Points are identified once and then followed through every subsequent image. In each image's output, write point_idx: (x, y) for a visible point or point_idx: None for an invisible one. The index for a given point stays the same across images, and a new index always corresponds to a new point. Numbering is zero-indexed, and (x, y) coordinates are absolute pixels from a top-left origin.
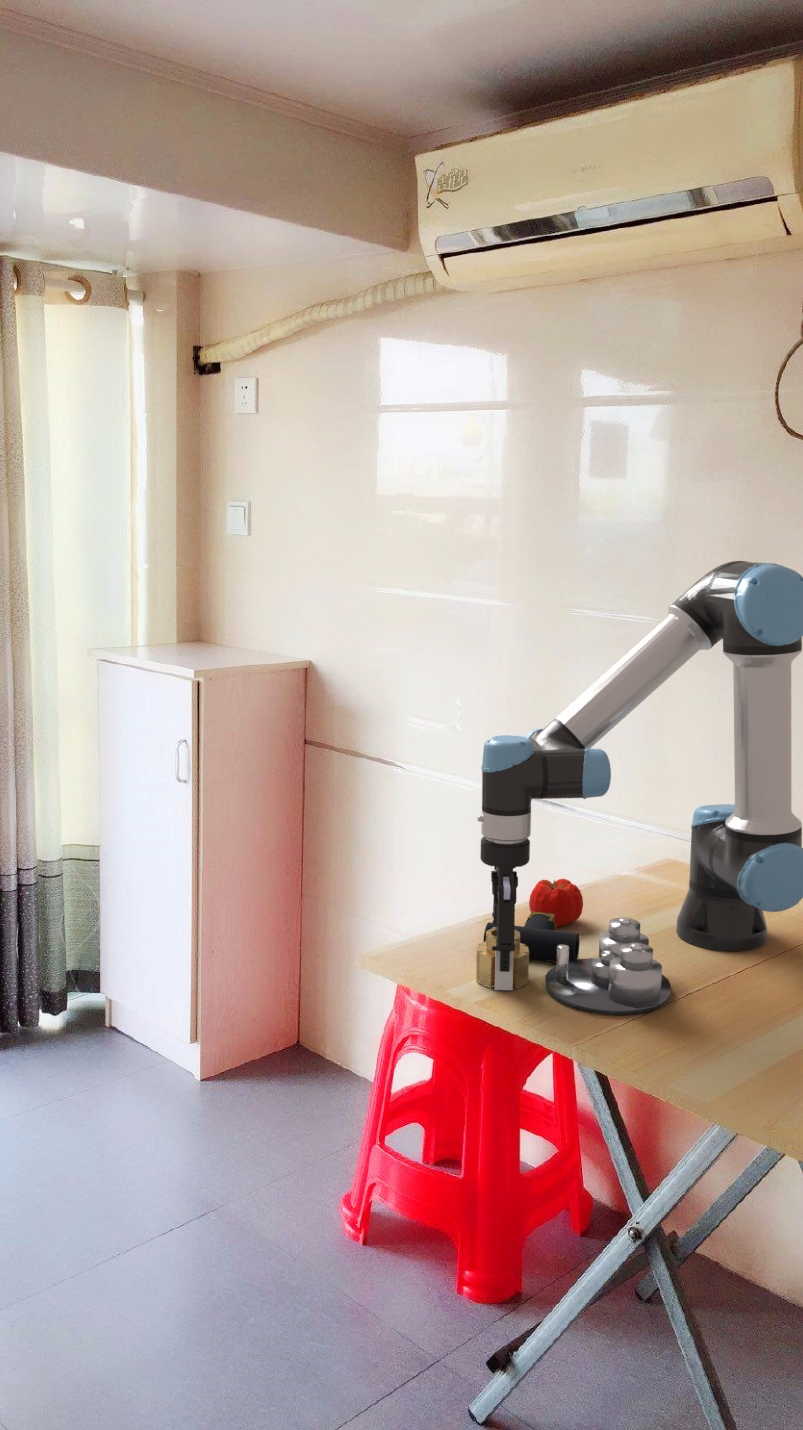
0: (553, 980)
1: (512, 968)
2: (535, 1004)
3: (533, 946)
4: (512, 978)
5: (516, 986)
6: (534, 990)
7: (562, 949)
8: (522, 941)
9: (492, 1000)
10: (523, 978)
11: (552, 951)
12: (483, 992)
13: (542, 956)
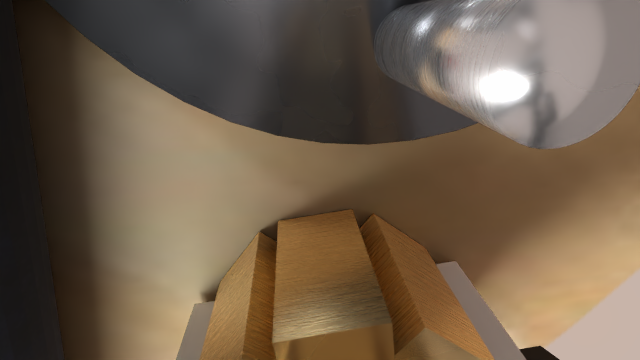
0: (410, 97)
1: (512, 342)
2: (579, 158)
3: (14, 264)
4: (482, 299)
5: (426, 253)
6: (428, 175)
7: (632, 73)
8: (2, 338)
9: (528, 307)
10: (401, 245)
11: (7, 137)
12: None
13: (37, 182)
